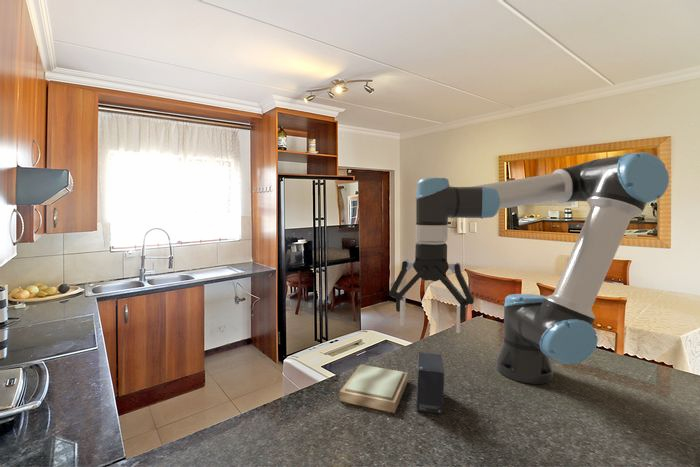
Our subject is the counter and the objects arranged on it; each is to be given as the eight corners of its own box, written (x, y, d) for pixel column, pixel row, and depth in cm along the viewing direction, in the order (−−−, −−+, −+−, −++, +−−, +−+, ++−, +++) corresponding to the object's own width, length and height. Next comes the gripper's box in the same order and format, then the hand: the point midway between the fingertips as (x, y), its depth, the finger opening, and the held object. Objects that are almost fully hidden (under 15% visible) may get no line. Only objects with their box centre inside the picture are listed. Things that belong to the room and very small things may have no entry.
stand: (407, 381, 97) (407, 370, 97) (394, 412, 82) (394, 400, 82) (360, 372, 102) (360, 362, 102) (339, 401, 87) (339, 389, 87)
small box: (444, 415, 81) (445, 372, 81) (415, 412, 83) (416, 369, 82) (441, 391, 92) (442, 353, 91) (416, 389, 93) (417, 351, 92)
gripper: (486, 242, 84) (483, 329, 85) (385, 239, 93) (384, 317, 94) (486, 246, 77) (483, 340, 78) (377, 241, 86) (376, 326, 87)
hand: (429, 327), depth 86 cm, fingers open, 13 cm apart
